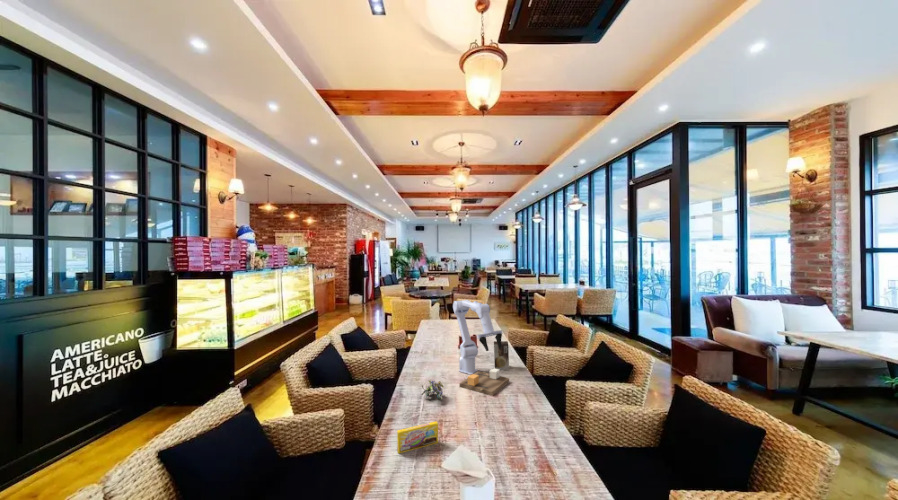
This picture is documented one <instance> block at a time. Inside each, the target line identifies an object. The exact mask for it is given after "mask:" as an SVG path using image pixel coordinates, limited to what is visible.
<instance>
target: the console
mask: <svg viewBox="0 0 898 500" xmlns="http://www.w3.org/2000/svg"><path fill="white" fill-rule="evenodd" d="M474 374H475V375H479V383H478V384H476V385H475V386H472V385H468V377H466V378H465V379H464V380H462V381H460V382H459V388H463V389H466V390H468V391H469V390H470V391H473V392H477V393H480V394H483V395H488V396H491V397H493V396H494V395H495V394H497V392H499V391H500V390H501V389H502V388H504V387H505V386H506V385H507V384H509V383H510V377H505V376H501V375H500V377H499V378H497V379H492V378H490V372H489V373H488V372H486V371H480V370H478V371H476V372H475V373H474Z"/></svg>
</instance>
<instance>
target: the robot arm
mask: <svg viewBox="0 0 898 500" xmlns="http://www.w3.org/2000/svg"><path fill="white" fill-rule="evenodd" d="M452 309H453V312H454V313H453V314H454V315H455V316H456V320H457V324H458V327H459V331H460V336H461V341H462V343H461V344H460V345H459V351H460V352H459V353H460V357H459V360H458V361H459V363H458V365H459V370H458V372H461V373H464V374H469V375H471V374H475V373H476V372H478V371H479V370H478V369H477V368H476V357H477V355H478V353H479V348H478V345H476V342H475V341H474V340H472V339H471V336H470V335H471V334H470V331H469V328H468V323H467V319H466V315H467V314H468V313H469V311H470V310H471V311H472V312H474V313H476V315H477V316H478V319H480V323H481V327H482V330H483V333H479V334H477V335H476V338H477V340H479V342H480V344H482V346H483V348H484V349H485V351H486V352H488V351H489V349H490V348H489V346H488V342H487V338H488V337H493V336H494V338H495V341H497V343H498V347H499V349H500V348H501V341H502V337H503V331H502V329H501V330H500V329H499V330H495V328H494V326H493V322H492V318H491V315H490V311H491V307H490V306H489V304H488V303H484V304H483V303H482V302H478V300H474V301H473V302H472V301H470V300H469V299H465V300H464V299H463V300H453V303H452Z"/></svg>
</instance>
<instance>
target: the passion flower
mask: <svg viewBox="0 0 898 500" xmlns="http://www.w3.org/2000/svg"><path fill="white" fill-rule="evenodd" d="M428 383H429V384H430V386H427V388H426V389H425V387H424V385H423V384H422V385H421V388H422V389H423V392H422V393H421V396H423V395H424V394H425V398H424V399H425V400H426V399H427V397H429V395H430V394H431V393H432V394H435V393H436V397H437V399H438V400H439V401H440V400H443V397H442V396H443V388H444V385H443V383H442V382H441V380H439V381H438V382H437V381H435V380H431V379H429V380H428Z"/></svg>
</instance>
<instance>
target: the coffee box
mask: <svg viewBox="0 0 898 500" xmlns="http://www.w3.org/2000/svg"><path fill="white" fill-rule="evenodd" d="M509 355H510V351H509V342H508V341H507V340H505V341H504V340H501V348H500V349H499V347H498V343H497V340H495V341H493V359H494V360H493V362H494V363H493V364H494V365H493V366H494V368H495V369H500V370H510V357H509Z"/></svg>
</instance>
